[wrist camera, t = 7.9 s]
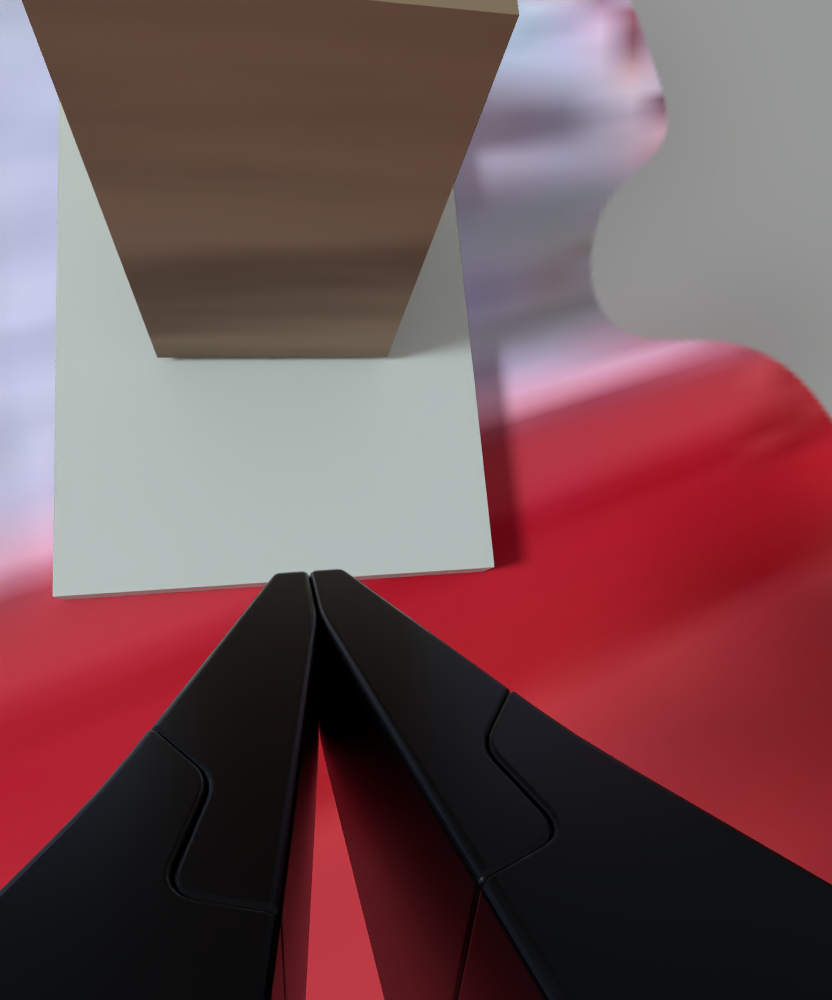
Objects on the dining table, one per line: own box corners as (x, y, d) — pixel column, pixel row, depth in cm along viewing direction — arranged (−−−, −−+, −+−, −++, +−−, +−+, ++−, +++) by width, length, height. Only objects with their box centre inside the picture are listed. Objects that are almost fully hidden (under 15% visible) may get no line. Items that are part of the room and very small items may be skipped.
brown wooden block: (387, 356, 20) (519, 15, 9) (157, 357, 19) (8, -35, 8) (373, 193, 21) (479, -283, 10) (154, 184, 20) (17, -369, 9)
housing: (483, 571, 20) (567, 537, 15) (64, 599, 18) (-32, 572, 12) (436, 122, 23) (491, -54, 18) (68, 98, 21) (-8, -112, 15)
